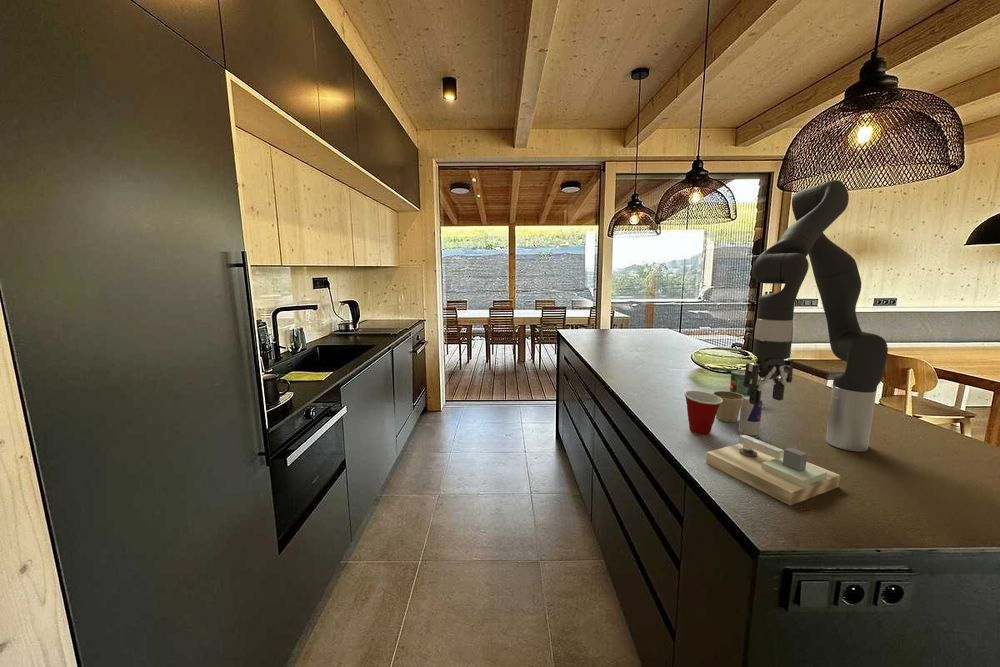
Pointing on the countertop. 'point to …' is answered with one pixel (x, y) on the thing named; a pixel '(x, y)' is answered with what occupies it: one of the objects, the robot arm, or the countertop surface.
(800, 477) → the snap lid
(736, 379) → the canned tomato
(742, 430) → the energy drink
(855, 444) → the robot arm
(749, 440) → the grey long bar
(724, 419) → the flower pot
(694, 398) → the plastic cup
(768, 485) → the latch base
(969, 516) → the countertop surface
